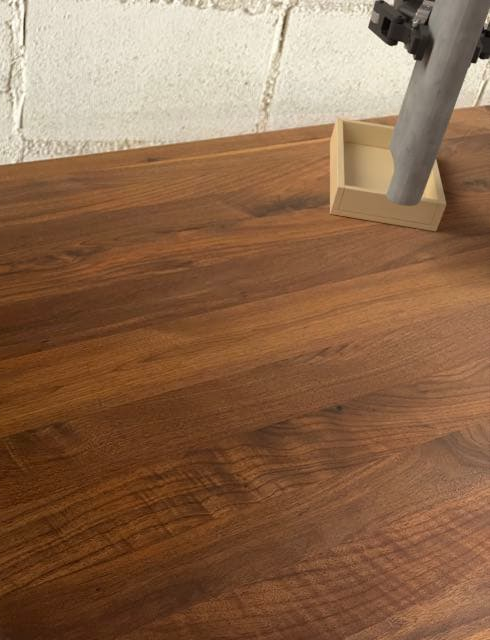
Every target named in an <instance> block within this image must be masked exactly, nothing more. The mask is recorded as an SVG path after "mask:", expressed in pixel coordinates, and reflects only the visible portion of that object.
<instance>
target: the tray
mask: <svg viewBox="0 0 490 640" xmlns="http://www.w3.org/2000/svg"><path fill="white" fill-rule="evenodd" d="M394 128H395V125H387V124H382V123H381V124H380V123H373V122H368V121H362V120H355V119H348V118H342V117H336V118H335V122H334V126H333V130H332V132H331V137H330V141H329V214H330V215H333V216H340V217H345V218H346V217H347V218H350V219H351V218H352V219H358V220H364V221H369V222H374V223H375V222H376V223H380V224H381V223H382V224H388V225H393V226H400V227H406V228H413V229H418V230H424V231H430V232H437V230H438V227H439V225H440V223H441V220H442V217H443V214H444V212H445V209H446V207H447V201H446V197H445V192H444V186H443V183H442V179H441V174H440V169H439V164H438V160H437V159H436V160H435V163H434V165H433V168H432V171H431V174H430V176H429V179H428V182H427V185H426V188H425V190H424V193H423V196H422V198H421V200H420V202H419V203H418V204H417V205H414V206H404V205H399V204H396V203H393V202H392V201H390V200H389V199H388V198H387V197H386V194H387V191H388V188H389V185H390V182H391V179H392V176H393V173H394V161H393V157H392V154H391V151H390V149H389V144H390V141H391V137H392V134H393V131H394Z"/></svg>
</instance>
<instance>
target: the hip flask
mask: <svg viewBox="0 0 490 640" xmlns="http://www.w3.org/2000/svg"><path fill="white" fill-rule="evenodd" d="M489 13H490V0H435V3H434V6H433V9H432V12H431V15H430V18H429V22H428V25H427V29H428V33H429V40H428V43H427V47H426V50H425V53H424V56H423V59H422V61H418V60H415V62H414V65H413V68H412V72H411V75H410V78H409V81H408V84H407V87H406V91H405V94H404V97H403V99H402V103H401V106H400V110H399V113H398V116H397V119H396V122H395V125H394V127H395V128H394V131H393V134H392V137H391V141H390V144H389V149H390V151H391V154H392V157H393V161H394V173H393V176H392V179H391V182H390V185H389V188H388V191H387V194H386V197H387V198H388V199H389V200H390V201H392V202H393V203H396V204H399V205H404V206H414V205H417V204H418V203H419V202H420V200H421V198H422V196H423V193H424V190H425V188H426V185H427V182H428V179H429V176H430V174H431V171H432V168H433V165H434V163H435V160H437V157H438V154H439V151H440V148H441V146H442V144H443V140H444V137H445V134H446V132H447V129H448V127H449V124H450V120H451V118H452V115H453V112H454V109H455V106H456V104H457V101H458V98H459V96H460V93H461V90H462V87H463V85H464V82H465V79H466V77H467V73H468V71H469V69H470V67H469V65H470V63H471V60H472V57H473V54H474V51H475V49H476V46H477V43H478V40H479V38H480V35H481V32H482V29H483V26H484V24H485V23H486V21H487V19H488V15H489ZM471 64H472V63H471ZM470 66H471V65H470Z"/></svg>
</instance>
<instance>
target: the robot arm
mask: <svg viewBox="0 0 490 640" xmlns="http://www.w3.org/2000/svg"><path fill="white" fill-rule="evenodd" d="M434 3H435V0H393V4H390V3H388V2H387V1H385V0H374V4H373V6H372V7H373V8H372V11H371V15H370V19H369V22H368V26H367V28H368V29H369V30H370V31H371V32H372V33H373V34H374V35H375V36H376V37H377V38H378V39H380V40H381V41H382V42H383V43H385V44H386V45H388V46H389V47H396V46H398V44H399V42H400V43H403V49H405V50H406V51H407V53H408V54H409V55H412V58H413V61H416V60H418V61H422V59H423V56H424V53H425V50H426V47H427V43H428V40H429V33H428V29H427V25H428V22H429V18H430V15H431V12H432V9H433V6H434ZM489 59H490V21H489V22H488V23H487V22H485V24H484V26H483V29H482V32H481V35H480V38H479V40H478V43H477V46H476V49H475V51H474V54H473V57H472V60H471V63H470V65H469V68H471V65H472V64H477V63H478V60H483V61H485V60H489Z"/></svg>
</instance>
